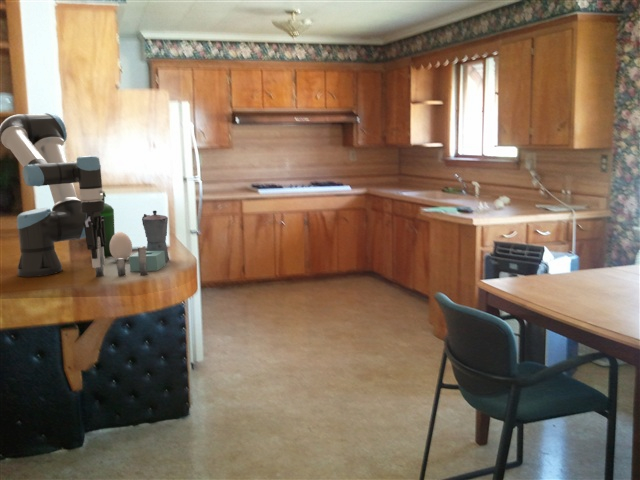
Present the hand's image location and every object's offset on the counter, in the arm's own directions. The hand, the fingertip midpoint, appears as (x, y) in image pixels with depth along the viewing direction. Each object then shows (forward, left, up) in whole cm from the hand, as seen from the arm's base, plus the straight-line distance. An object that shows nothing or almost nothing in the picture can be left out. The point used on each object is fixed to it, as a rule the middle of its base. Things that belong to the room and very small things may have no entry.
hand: (98, 265), depth 229 cm
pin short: (+8, 0, -4) cm, 9 cm away
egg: (-2, +27, -4) cm, 27 cm away
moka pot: (+13, +24, -4) cm, 28 cm away
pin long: (0, 0, -4) cm, 4 cm away
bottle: (-14, +39, -4) cm, 42 cm away
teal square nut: (+14, +11, -4) cm, 18 cm away
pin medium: (+16, 0, -4) cm, 16 cm away
